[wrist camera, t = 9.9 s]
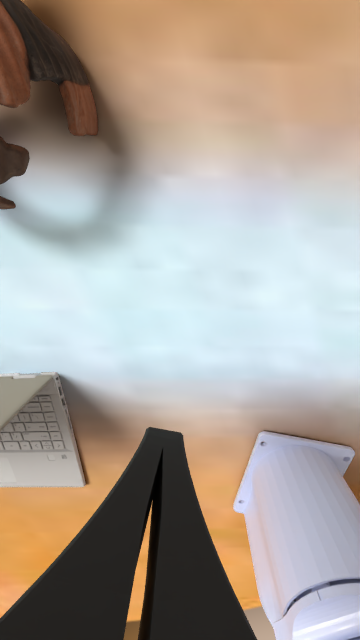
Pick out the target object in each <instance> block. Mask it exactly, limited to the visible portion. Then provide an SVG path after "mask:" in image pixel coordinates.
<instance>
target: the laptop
mask: <svg viewBox="0 0 360 640" xmlns="http://www.w3.org/2000/svg"><path fill="white" fill-rule="evenodd" d="M59 390H60V391H59ZM85 485H86V483H85V478H84V474H83V470H82V466H81V462H80V457H79V453H78V449H77V445H76V441H75V437H74V432H73V428H72V424H71V420H70V416H69V412H68V408H67V404H66V400H65V397H64V393H63V389H62V385H61V382H60V378H59V375H58V373H57V372H41V373H33V374H20V373H10V374H0V487H84V486H85Z"/></svg>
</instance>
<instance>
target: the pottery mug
mask: <svg viewBox="0 0 360 640" xmlns="http://www.w3.org/2000/svg"><path fill="white" fill-rule="evenodd" d="M30 80H32V81H40V80H51V81H52V82H55V83H56V84H58V86H59V89H60V93H61V96H62V98H63V102H64V107H65V110H66V116H67V121H68V127H69V131H70V132H71V133H72V134H73V135H76V136H84V135H85V134H87V135H96V134H97V132H98V124H97V123H98V122H97V113H96V108H95V102H94V99H93V95H92V91H91V89H90V86H89V82H88V79H87V76H86V74H85V72H84V70H83V68H82V66H81V63H80V61H79V59H78V58H77V56H76V55H75V53H74V52H73V50H72V49H71V48H70V46H69V45H68V44H67V42H66V41H65V40H64V39H63V38H62V37H61V36H60V35H58V34H57V33H56V32H54V31H53V30H52V29H50V28H49V27H47V25H45V24H44V23H43V22H42V21H41V20H40V19H39V18H37V17H36V16H35V15H34V14H33V13H32V12H31V10H30V9H29V8H28V7H27V6H26V5H25V4H24V3H23V2H22V1H20V0H0V104H1V105H4V106H7V107H11V108H17V107H18V106H19V105H22V104H24V103H25V102H27V100H28V99H29V97H30V88H31V86H30ZM29 159H30V158H29V152H28V150H27V149H25V148H23V147H21V146H18V145H14V144H8V143H6V142H5V141H4V140H3V138H1V137H0V184H3V183H4V182H6V181H7V180H9V179H10V178H11V177H14V176H21V175H23V174H24V173H25V172H26V169H27V166H28V163H29ZM15 207H16V205H15V203H14V202H13V201H11V200H8V199H5V198H3V197H1V196H0V209H13V208H15Z"/></svg>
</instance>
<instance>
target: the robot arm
mask: <svg viewBox="0 0 360 640" xmlns="http://www.w3.org/2000/svg"><path fill="white" fill-rule="evenodd" d="M261 442H263V443H261ZM354 455H355V452H354V450H353V449H352V448H351V447H348V446H343V445H337V444H332V443H327V442H321V441H316V440H310V439H305V438H299V437H294V436H288V435H283V434H277V433H272V432H266V431H263V432H260V433H259V435H258V437H257V440H256V443H255V445H254V448H253V451H252V454H251V457H250V459H249V462H248V465H247V468H246V470H245V473H244V476H243V479H242V482H241V484H240V487H239V490H238V493H237V495H236V498H235V501H234V504H233V508H234V511H236V512H238V513H244V516H245V522H246V527H247V533H248V539H249V544H250V550H251V555H252V561H253V567H254V572H255V578H256V583H257V589H258V593H259V597H260V601H261V604H262V606H263V609H264V611H265V613H266V616H267V618H268V619H269V621H270V623H271V625H272V626H273V628H274V632H275V638H276V640H360V504H359V502H358V501H357V499H356V497H355V496H354V494H353V492H352V491H351V489H350V488H349V486H348V484H347V483H346V481H345V480H344V478H343V475H344V474H345V472H346V470H347V468H348V466H349V464H350V463H351V461H352V459H353V457H354ZM152 500H153V502H152ZM151 504H152V514H151V526H150V538H149V550H148V562H147V574H146V584H145V593H144V601H143V608H142V615H141V621H140V628H139V635H138V640H257V639H256V637H255V635H254V632H253V630H252V628H251V626H250V624H249V622H248V620H247V618H246V616H245V614H244V611H243V609H242V607H241V605H240V603H239V601H238V599H237V597H236V595H235V593H234V591H233V589H232V586H231V584H230V582H229V580H228V577H227V575H226V573H225V570H224V568H223V566H222V563H221V561H220V559H219V556H218V554H217V551H216V549H215V546H214V544H213V541H212V539H211V536H210V534H209V531H208V528H207V525H206V523H205V520H204V517H203V514H202V511H201V508H200V505H199V502H198V499H197V496H196V492H195V489H194V485H193V482H192V478H191V475H190V471H189V467H188V463H187V458H186V453H185V448H184V441H183V435H182V434H181V433H179V432H174V431H168V430H163V429H157V428H152V427H149V428H147V429H146V432H145V435H144V437H143V439H142V441H141V443H140V445H139V447H138V449H137V451H136V453H135V454H134V456H133V458H132V459H131V461H130V463H129V464H128V466H127V468H126V469H125V471H124V472H123V474H122V475H121V477H120V478H119V480H118V481H117V483H116V484H115V486H114V487H113V488H112V490H111V491H110V493H109V494H108V496H107V497H106V498H105V500H104V501H103V502H102V504H101V505H100V506H99V508H98V509H97V510H96V512H95V513H94V514H93V516H92V517H91V518H90V519H89V521H88V522H87V523H86V524H85V526H84V527H83V528H82V529H81V531H80V532H79V533H78V534H77V535H76V537H75V538H74V539H73V540H72V541H71V542H70V543H69V545H68V546H67V547H66V548H65V549H64V550H63V552H62V553H61V554H60V555H59V556H58V557H57V559H56V560H55V561H54V562H53V563H52V564H51V565H50V566H49V568H48V569H47V570H46V571H45V572H44V573H43V574H42V575H41V576H40V577H39V578H38V579H37V580H36V581H35V582H34V584H33V585H32V586H31V587H30V588H29V589H28V590H27V591H26V592H25V593H24V594H23V595H22V596H21V597H20V598H19V599H18V600H17V601H16V602H15V604H14V605H13V606H12V607H11V608H10V609H9V610H8V611H7V612H6V613H5V614H4V615H3V616H2V617H1V618H0V640H123V638H124V632H125V627H126V621H127V615H128V609H129V604H130V598H131V592H132V586H133V581H134V575H135V569H136V565H137V561H138V557H139V553H140V549H141V545H142V541H143V537H144V533H145V529H146V524H147V520H148V516H149V512H150V508H151Z"/></svg>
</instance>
